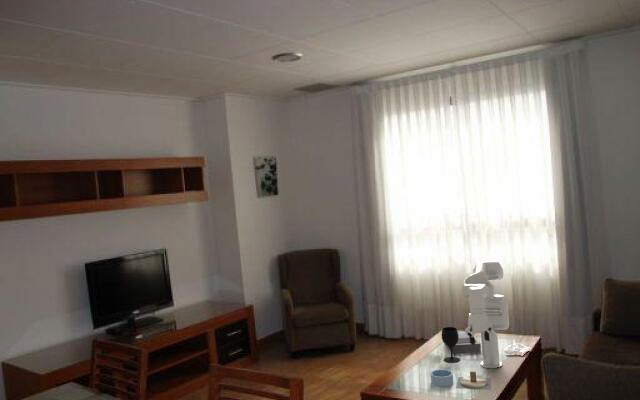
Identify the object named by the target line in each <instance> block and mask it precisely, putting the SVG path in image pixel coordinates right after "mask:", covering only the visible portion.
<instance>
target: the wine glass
mask: <svg viewBox="0 0 640 400" xmlns="http://www.w3.org/2000/svg"><path fill="white" fill-rule="evenodd" d="M458 333H459V332H458V328H456V327H455V326H454V327H453V326H447V327H443V328H442V329H441V340H442V342H443V344H444V345H445V346H446V347H449V348H450V349H449V348H448V349H449V350H450V356H448V357H444V358H443V361H444V362H445V363H447V364H455V363H459V362H460V361H461V358H460V357H456V356H453V354H452V347H454V346H455V345H456V344H457V342H458V338H459V337H458Z"/></svg>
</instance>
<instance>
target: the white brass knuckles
mask: <svg viewBox="0 0 640 400" xmlns="http://www.w3.org/2000/svg"><path fill="white" fill-rule="evenodd" d="M518 345H521V346H518ZM520 347H523V348H520ZM530 349H532V348H531V347H529V346H527V345H524V344H523V343H519V342H516V343H514V344H508V346H505V348H504V349H503V352H504V354H505V353H506V354H512V353H517V352H521V353H523V354H524V353H525V352H527V351H529V350H530ZM518 350H520V351H518Z"/></svg>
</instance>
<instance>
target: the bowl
mask: <svg viewBox="0 0 640 400" xmlns="http://www.w3.org/2000/svg"><path fill="white" fill-rule="evenodd" d="M430 382H431V384H430V385H431V386H434V387H438V388H447V387H451V386H452V385H454V374H453V372H452V370H449V369H441V368H440V369H439V368H438V369H434V370H431V371H430Z"/></svg>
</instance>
